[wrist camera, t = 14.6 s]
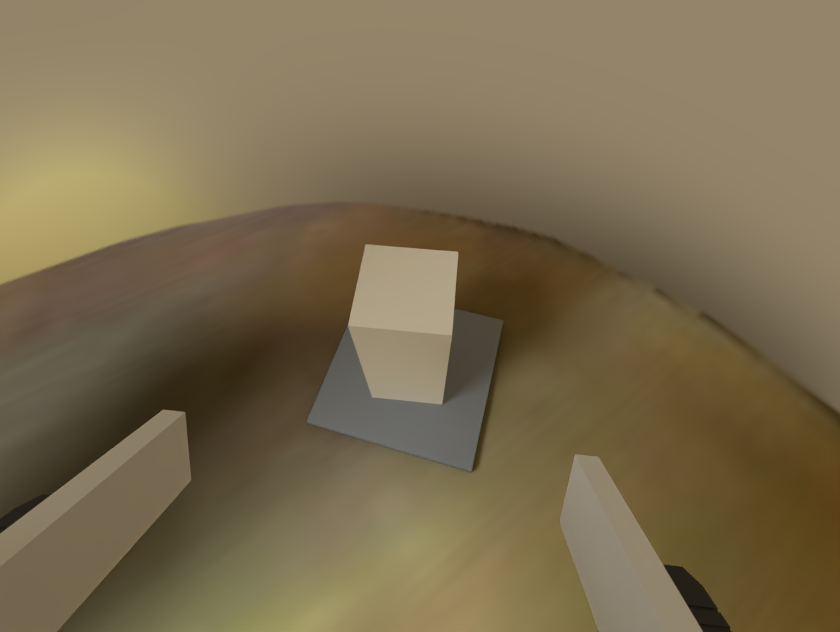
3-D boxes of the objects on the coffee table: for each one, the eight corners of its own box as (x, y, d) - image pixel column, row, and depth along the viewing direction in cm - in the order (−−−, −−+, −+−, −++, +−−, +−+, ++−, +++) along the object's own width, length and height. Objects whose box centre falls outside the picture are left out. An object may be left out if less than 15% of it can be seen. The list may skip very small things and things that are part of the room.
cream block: (372, 397, 35) (347, 325, 23) (382, 334, 38) (365, 244, 26) (442, 404, 34) (452, 335, 23) (447, 340, 37) (458, 251, 26)
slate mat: (308, 423, 34) (306, 421, 34) (364, 289, 41) (363, 286, 40) (470, 472, 32) (471, 471, 32) (502, 323, 39) (503, 320, 38)
